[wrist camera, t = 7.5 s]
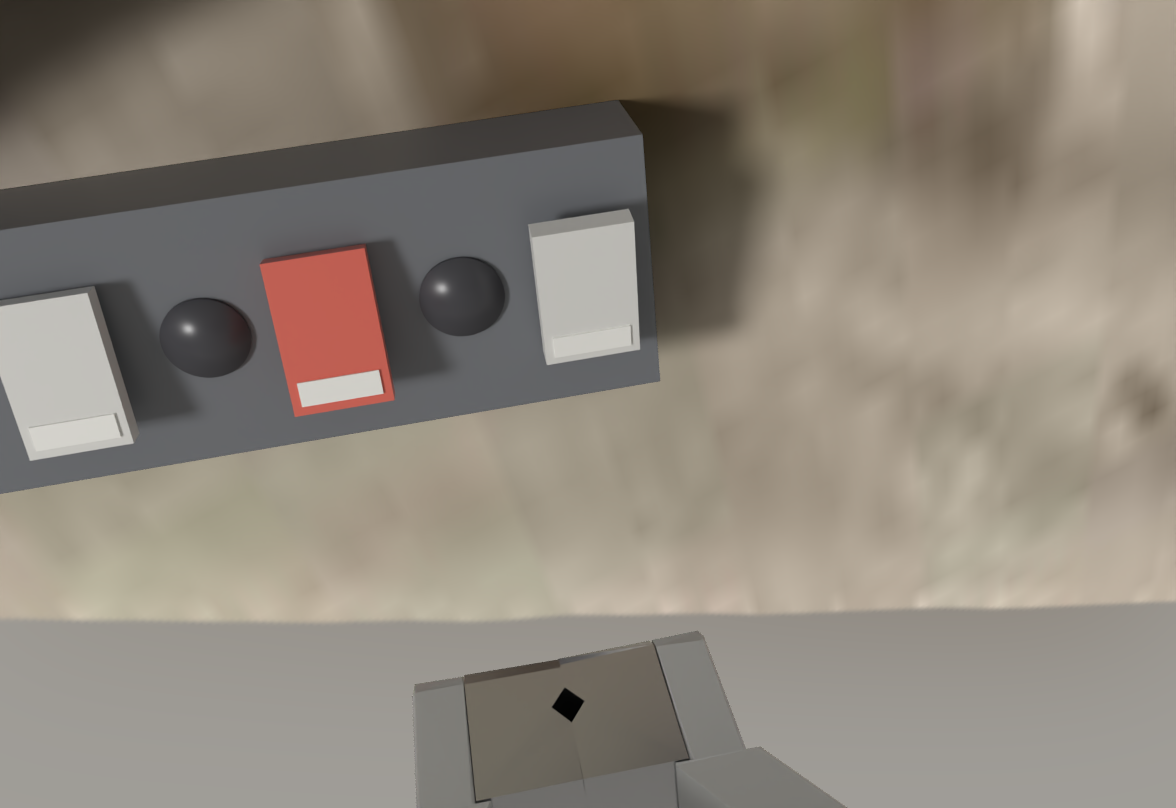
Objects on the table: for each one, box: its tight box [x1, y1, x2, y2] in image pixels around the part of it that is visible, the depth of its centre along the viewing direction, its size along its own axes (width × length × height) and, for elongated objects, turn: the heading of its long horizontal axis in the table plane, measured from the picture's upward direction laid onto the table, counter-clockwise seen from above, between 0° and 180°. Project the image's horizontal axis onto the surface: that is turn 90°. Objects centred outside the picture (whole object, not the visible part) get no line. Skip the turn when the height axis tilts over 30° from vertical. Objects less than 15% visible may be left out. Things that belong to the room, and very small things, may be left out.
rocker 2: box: [528, 209, 640, 365], centre depth 36 cm, size 3×5×1 cm, turn 6°
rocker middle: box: [260, 244, 395, 417], centre depth 35 cm, size 3×5×1 cm, turn 5°
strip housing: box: [0, 100, 660, 494], centre depth 37 cm, size 25×9×4 cm, turn 96°
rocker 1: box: [0, 286, 140, 461], centre depth 34 cm, size 3×5×1 cm, turn 6°
